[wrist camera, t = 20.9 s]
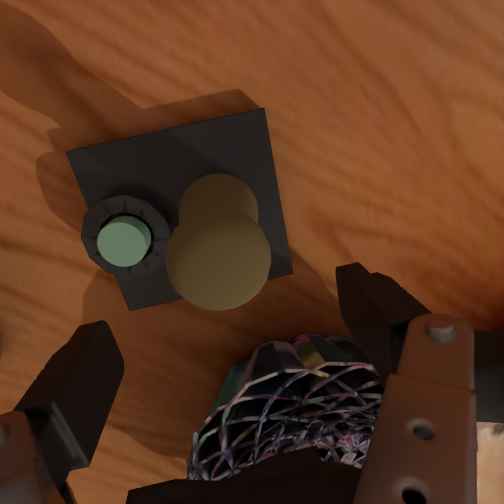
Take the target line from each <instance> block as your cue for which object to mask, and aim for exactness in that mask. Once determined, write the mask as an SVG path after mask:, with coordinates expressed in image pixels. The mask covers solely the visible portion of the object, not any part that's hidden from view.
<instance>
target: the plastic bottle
mask: <svg viewBox="0 0 504 504" xmlns="http://www.w3.org/2000/svg"><path fill="white" fill-rule="evenodd" d="M1 355H2V339H1V335H0V358H1Z"/></svg>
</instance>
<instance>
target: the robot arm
mask: <svg viewBox="0 0 504 504" xmlns="http://www.w3.org/2000/svg"><path fill="white" fill-rule="evenodd" d="M336 282H337V290H338V298H339V306H340V311H341V315H342V318H343V320H344V322H345V324H346V326H347V327H348V329H349V330H350V332H351V333H352V335H353V336H354V338H355V340H356V341H357V343H358V344H359V346H360V347H361V349H362V350H363V352H364V353H365V355H366V356H367V358H368V359H369V361H370V362H371V364H372V366H373V367H374V369H375V370H376V372H377V373H378V375H379V376H380V378H381V379H382V381H383V382H384V384H385V385H386V386H385V389H384V393H383V397H382V400H381V404H380V407H379V411H378V414H377V418H376V422H375V425H374V429H373V432H372V436H371V439H370V443H369V447H368V450H367V454H366V457H365V461H364V464H363V468H362V469H360V468H357V467H355V466H351V465H348V464H344V463H339V462H333V461H322V460H321V456H320V453H319V450H318V447H317V445H314V446H310V447H306V448H302V449H298V450H294V451H290V452H285V453H281V454H277V455H273V456H270V457H268V458H266V459H264V460H262V461H260V462H259V463H257V464H255V465H253V466H251V467H249V468H247V469H245V470H243V471H241V472H239V473H237V474H235V475H234V476H232V477H230V478H228V479H225V480H188V479H174V480H170V481H165V482H161V483H157V484H153V485H149V486H145V487H141V488H136V489H132V490H129V492H128V496H127V500H126V504H477V434H476V422H493V423H504V331H473V329H472V328H471V327H470V325H468V324H467V323H466V322H464V321H463V320H461V319H459V318H456V317H453V316H450V315H445V314H432V313H431V312H430V311H429V310H428V309H427V308H426V307H424V306H423V305H422V304H421V303H420V302H419V301H417V300H416V299H415V298H414V297H413V296H412V295H410V294H409V293H407V291H406V290H405V289H404V288H402V287H400V285H399V284H398V283H397V282H395V281H394V280H393V279H392V278H391V277H388V276H386V275H383V274H380V273H378V272H376V273H369V272H368V271H367V270H366V269H365V268H364V267H363V266H362V265H361V264H360V263H359V262H356V263H352V264H347V265H343V266H338V267H336ZM123 374H124V361H123V357H122V355H121V352H120V350H119V348H118V345H117V343H116V341H115V338H114V336H113V334H112V332H111V329H110V327H109V325H108V323H107V322H106V321H104V320H102V321H98V322H93V323H89V324H84V325H81V326H79V327H78V328H77V330H76V331H75V333H74V334H73V336H72V337H71V339H70V340H69V341H68V343H66V344H65V345H64V346H63V347H62V348H60V349H59V350H58V351H57V352H56V353H55V354H53V355H52V357H51V358H50V359H49V361H48V362H47V364H46V365H45V366H44V369H42V371H41V372H40V373H39V375H38V376H37V379H36V380H34V382H33V383H32V385H31V386H30V387H29V389H28V390H27V392H26V393H25V394H24V396H23V397H22V398H21V400H20V401H19V403H18V404H17V405H16V407H15V408H14V410H13V411H11V412H7V413H4V414H2V415H0V504H77V502H76V499H75V497H74V494H73V492H72V489H71V487H70V485H69V484H68V482H67V481H66V479H67V477H68V474H69V472H70V471H72V470H76V469H81V468H85V467H89V465H90V463H91V460H92V457H93V455H94V452H95V449H96V447H97V444H98V441H99V439H100V436H101V433H102V431H103V428H104V425H105V423H106V420H107V417H108V415H109V412H110V409H111V407H112V404H113V401H114V399H115V396H116V393H117V391H118V388H119V385H120V383H121V380H122V377H123Z"/></svg>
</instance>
